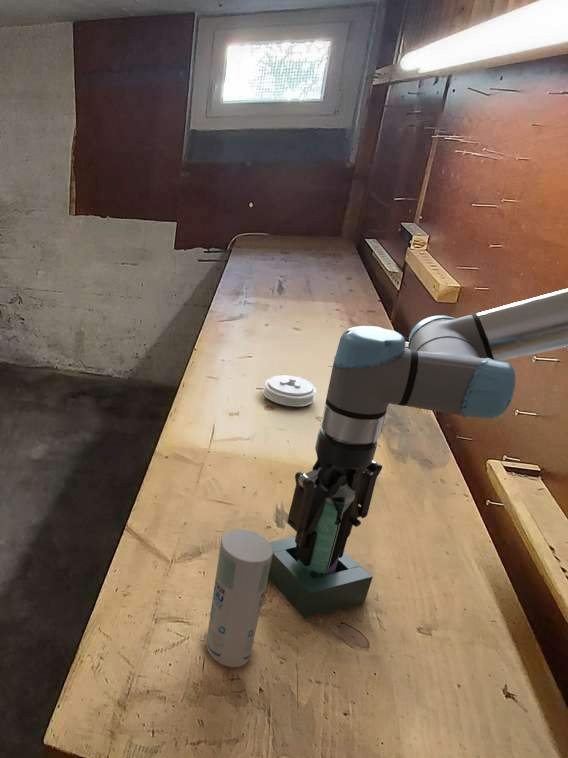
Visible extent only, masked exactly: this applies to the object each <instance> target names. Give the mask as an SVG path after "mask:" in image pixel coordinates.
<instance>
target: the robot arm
mask: <svg viewBox="0 0 568 758" xmlns="http://www.w3.org/2000/svg"><path fill="white" fill-rule="evenodd" d="M405 345H406V339H405V336H404V335H402V334H401V333H399V332H398V331H396V330H393V329H389V328H387V329H386V328H383V327H382V326H373V325H359V326H354V327H350V328H348V329H347V330H345V331H344V332H343V333H342V335H341V336H340V338H339V342H338V345H337V349H336V353H335V356H334V357H333V363H332V369H331V372H330V379H329V382H328V388H327V393H326V398H325V402H324V408H323V412H322V416H321V420H320V428H319V429H318V432H317V437H316V442H315V447H314V448H315V453H316V461H315V463H314V464H313V465H312V469H311V470H310V471H308V472H306V473H303V472H302V471H298V472H296V473H295V475H294V479H295V487H294V491H293V496H292V500H291V503H290V508H289V511H288V516H287V520H286V523H287V524H288V525H289V526H290V527H291V529H293V530H294V531H295V532H296V533H295V536H296V538H295V543H296V548H295V553H294V555H295V556H296V557H297V558H298V559H299V560H300V561H301V562H302V563H303V564H304V565H305V566H310V562H311V558H312V554H313V549H314V545H315V541H316V537H317V533H316V532H315V531H314V529H315V527H316V525H317V523H318V521H319V519H320V517H321V515H322V513H323V509H324V505H325V501H326V498H332V495H333V496H334V495H335V494H336V493H337V491H338V489H339V487H340V486H341V485H342V484H343V482H344V484H343V485H345V484H346V483H348V484H347V485H349V486H350V488H351V489H352V490H353V491H355V498H354V502H353V506H352V509H351V513H350V517H349V521H348V524H347V528H346V532H345V536H344V539H343V543H342V547H341V550H340V554H339V558H341V557H342V556H343V552H344V551H345V549H346V544H347V541H348V538H349V537H350V535H351V533H352V529H353V526H354V527H355V528H357V527H359V526H360V525H361V524H362V521H361V520H359V519H358V518H361V519H365V518H366V517H368V513H369V510H370V506H371V502H372V498H373V494H374V490H375V486H376V482H377V478H378V476H379V475H380V473H381V472H382V470H383V465H381V464H380V463H378V462H377V461H375V460H374V458H375V454H376V450H377V446H378V444H379V443H378V440H379V439H380V438H381V434H382V430H383V426H384V423H385V419H386V414H387V411H388V407H389V405H396V406H400V407H410V408H415V409H421V410H427V411H432V412H437V413H444V414H449V415H453V416H454V415H455V416H460V417H461V418H476V419H477V418H479V419H486V420H488V419H489V420H494V419H498V418H500V417H501V416H503V415H504V414H505V413H506V411H507V410H508V408H509V406H510V405H511V402H512V399H513V396H514V394H515V393H514V392H515V387H516V372H515V368H514V367H513V365H512V364H511V363H509V362H508V361H510V360H515V359H519V358H525V357H528V356H533V355H537V354H541V353H546V352H551V351H554V350H555V351H556V350H560V349H565V348H568V288H565V289H561V290H557V291H553V292H550V293H546V294H543V295H538V296H535V297H532V298H528V299H525V300H521V301H517V302H513V303H509V304H506V305H503V306H498V307H495V308H492V309H489V310H484V311H481V312H476V313H472V314H468V315H465V316H461V317H457V318H455V317H453V316H448V315H433V316H432V315H431V316H428V317H426V318H424V319H422V320H420V321H419V322H418V323H417V324H415V325H414V326H413V328H412V329H411V331H410V332H409V336H408V344H407V347H408V348H406V346H405ZM319 484H321V485H322V486H323V487H325V488H326V489H328V491H326V490H324V489H323V488H322V487H321V486H320V485H319Z"/></svg>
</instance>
